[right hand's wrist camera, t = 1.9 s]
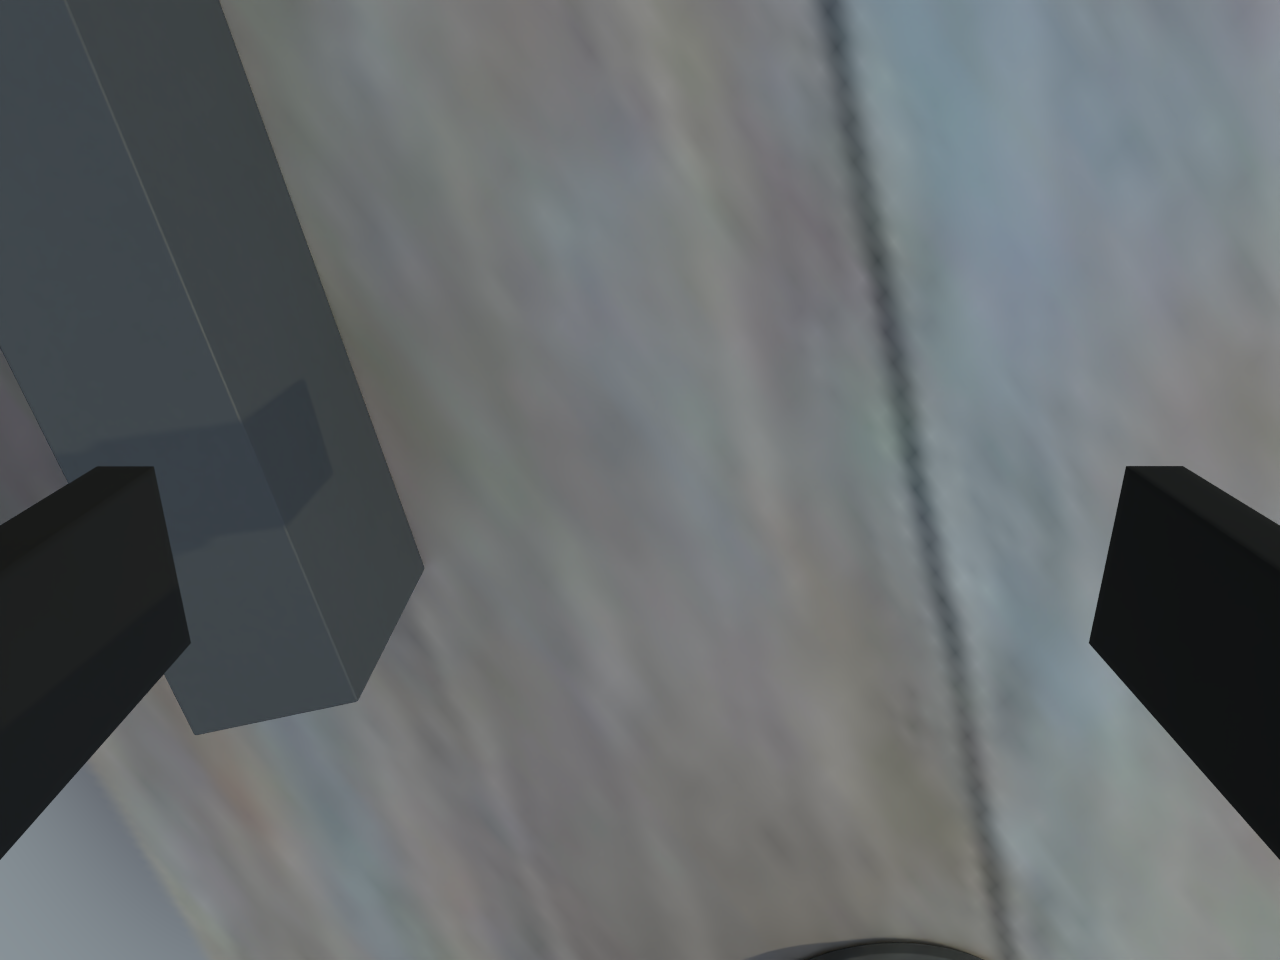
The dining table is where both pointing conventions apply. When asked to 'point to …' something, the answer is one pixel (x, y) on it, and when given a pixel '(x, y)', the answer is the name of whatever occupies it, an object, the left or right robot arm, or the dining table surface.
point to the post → (194, 347)
